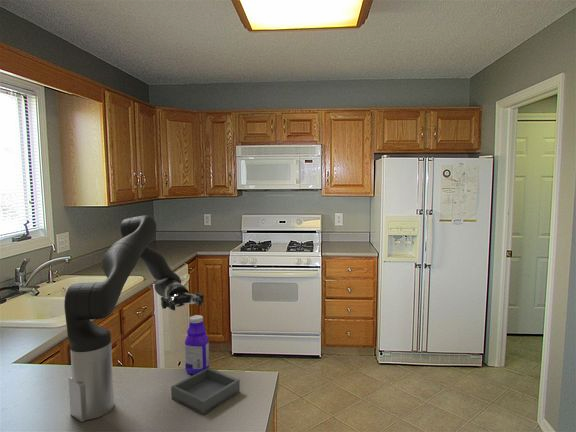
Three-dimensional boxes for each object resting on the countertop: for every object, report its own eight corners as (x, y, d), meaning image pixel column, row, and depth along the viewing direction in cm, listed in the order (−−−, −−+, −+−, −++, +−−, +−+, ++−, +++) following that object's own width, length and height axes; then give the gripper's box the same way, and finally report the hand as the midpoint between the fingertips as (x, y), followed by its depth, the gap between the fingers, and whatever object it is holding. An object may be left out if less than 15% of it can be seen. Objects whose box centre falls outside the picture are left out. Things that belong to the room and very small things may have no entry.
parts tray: (203, 415, 92) (203, 401, 92) (171, 399, 100) (171, 386, 99) (239, 392, 103) (239, 380, 102) (208, 379, 110) (207, 367, 110)
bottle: (212, 368, 117) (210, 314, 116) (203, 377, 111) (201, 320, 110) (192, 366, 119) (190, 313, 118) (182, 374, 113) (180, 319, 112)
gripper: (156, 286, 134) (164, 297, 120) (195, 281, 141) (207, 291, 127) (157, 306, 135) (165, 320, 121) (195, 300, 142) (208, 312, 128)
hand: (187, 305), depth 124 cm, fingers open, 8 cm apart
